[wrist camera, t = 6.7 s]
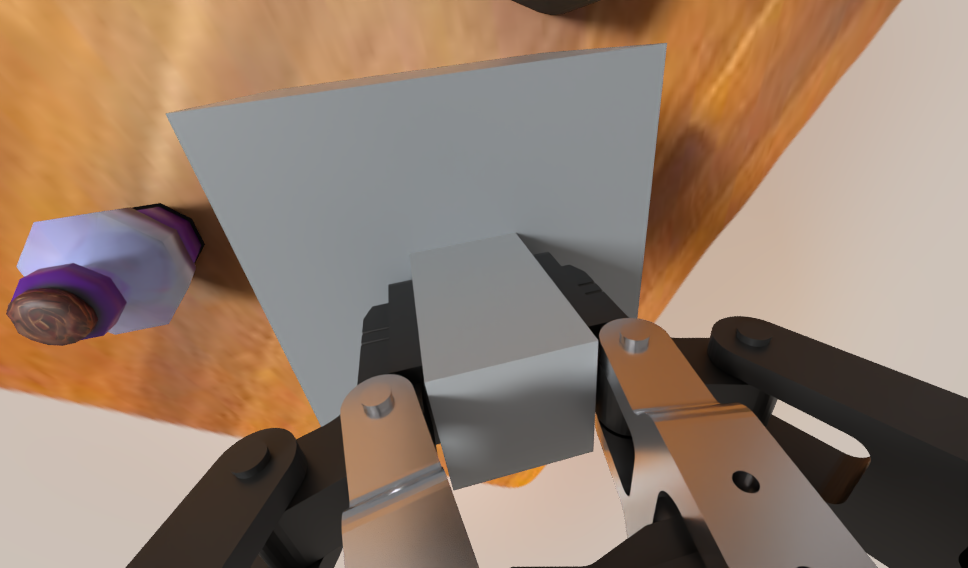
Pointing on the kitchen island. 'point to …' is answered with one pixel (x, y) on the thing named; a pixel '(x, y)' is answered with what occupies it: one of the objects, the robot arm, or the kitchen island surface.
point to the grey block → (446, 230)
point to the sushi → (555, 5)
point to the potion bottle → (103, 273)
